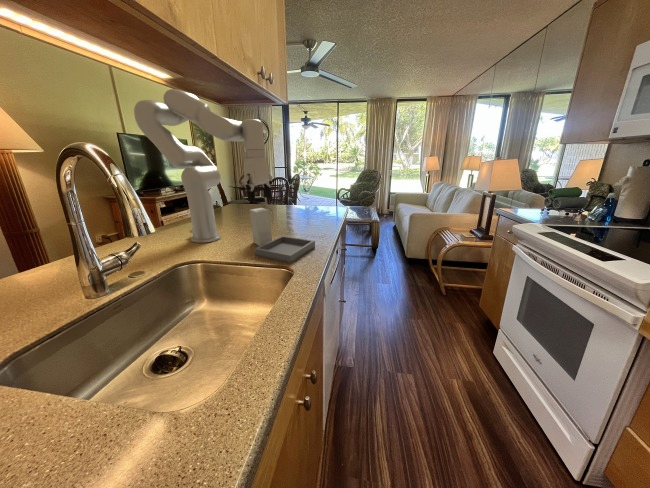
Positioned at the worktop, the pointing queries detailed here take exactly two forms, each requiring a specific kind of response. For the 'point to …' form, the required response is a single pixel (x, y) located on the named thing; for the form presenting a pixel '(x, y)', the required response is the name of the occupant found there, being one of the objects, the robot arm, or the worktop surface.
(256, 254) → the tray
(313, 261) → the worktop surface
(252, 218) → the skincare box
